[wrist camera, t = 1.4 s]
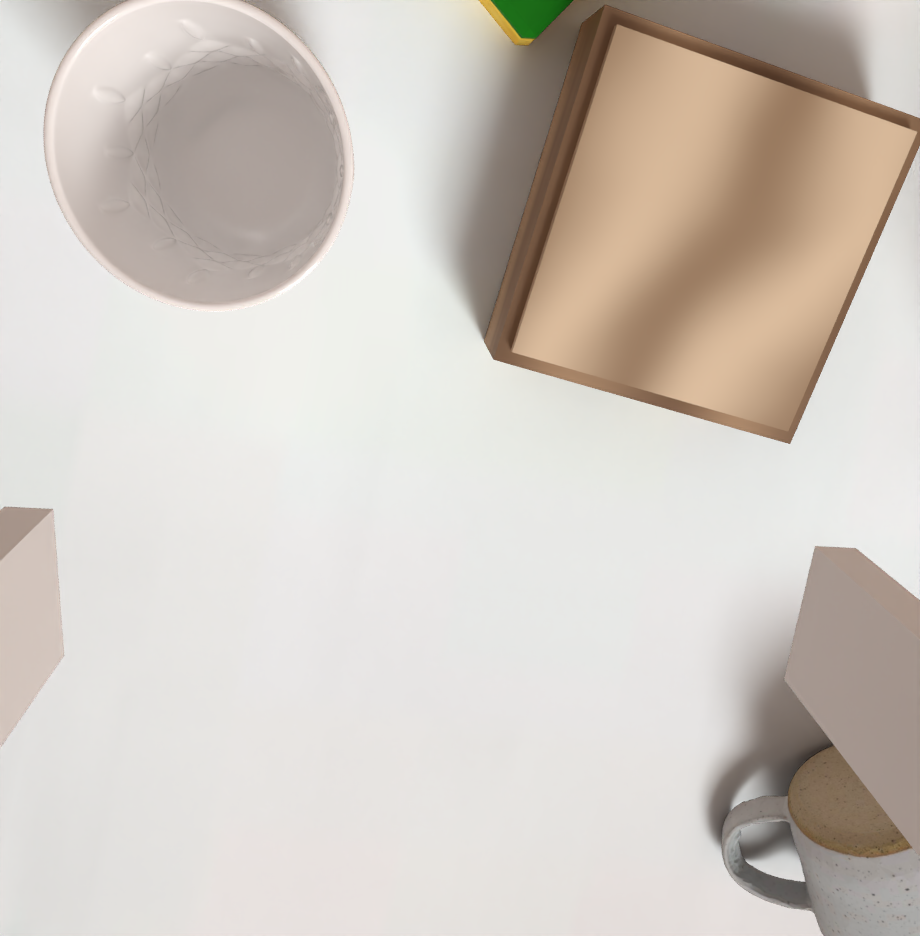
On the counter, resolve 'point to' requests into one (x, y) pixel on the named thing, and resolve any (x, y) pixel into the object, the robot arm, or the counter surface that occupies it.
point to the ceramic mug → (834, 853)
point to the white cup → (198, 151)
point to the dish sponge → (524, 16)
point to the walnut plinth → (696, 226)
